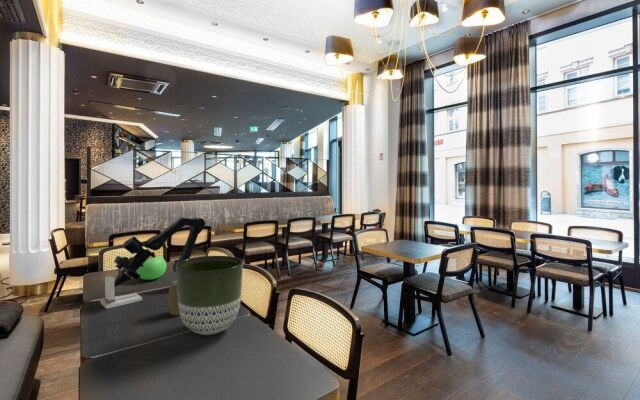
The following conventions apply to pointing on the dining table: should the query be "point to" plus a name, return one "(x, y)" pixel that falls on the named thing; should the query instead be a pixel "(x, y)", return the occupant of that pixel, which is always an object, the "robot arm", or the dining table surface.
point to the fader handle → (109, 289)
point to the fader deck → (122, 300)
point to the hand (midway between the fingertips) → (113, 286)
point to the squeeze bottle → (173, 299)
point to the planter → (209, 292)
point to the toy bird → (152, 268)
